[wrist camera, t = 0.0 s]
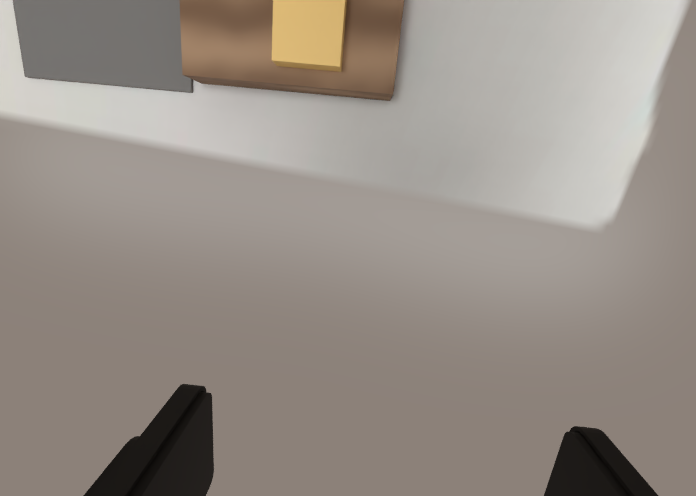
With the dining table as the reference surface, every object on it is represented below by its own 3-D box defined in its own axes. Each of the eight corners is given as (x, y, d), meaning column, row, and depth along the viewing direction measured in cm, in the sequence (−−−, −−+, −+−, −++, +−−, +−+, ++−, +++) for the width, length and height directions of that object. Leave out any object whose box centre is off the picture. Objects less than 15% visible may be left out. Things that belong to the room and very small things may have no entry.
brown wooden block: (198, -53, 32) (176, -81, 28) (405, -35, 32) (411, -61, 28) (202, 83, 36) (182, 75, 32) (389, 100, 35) (393, 94, 31)
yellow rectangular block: (280, -51, 29) (274, -65, 27) (350, -45, 29) (349, -59, 27) (277, 66, 31) (271, 60, 29) (341, 71, 31) (339, 66, 29)
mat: (3, -82, 32) (-1, -85, 32) (187, -67, 32) (185, -69, 32) (28, 77, 36) (24, 76, 36) (193, 92, 36) (191, 92, 36)
